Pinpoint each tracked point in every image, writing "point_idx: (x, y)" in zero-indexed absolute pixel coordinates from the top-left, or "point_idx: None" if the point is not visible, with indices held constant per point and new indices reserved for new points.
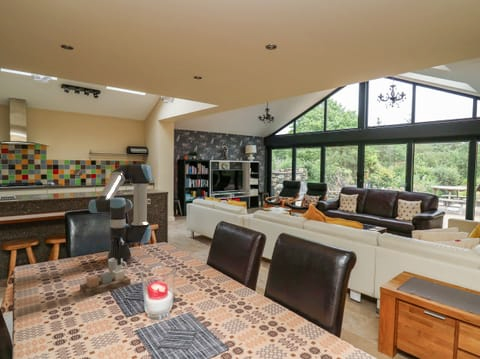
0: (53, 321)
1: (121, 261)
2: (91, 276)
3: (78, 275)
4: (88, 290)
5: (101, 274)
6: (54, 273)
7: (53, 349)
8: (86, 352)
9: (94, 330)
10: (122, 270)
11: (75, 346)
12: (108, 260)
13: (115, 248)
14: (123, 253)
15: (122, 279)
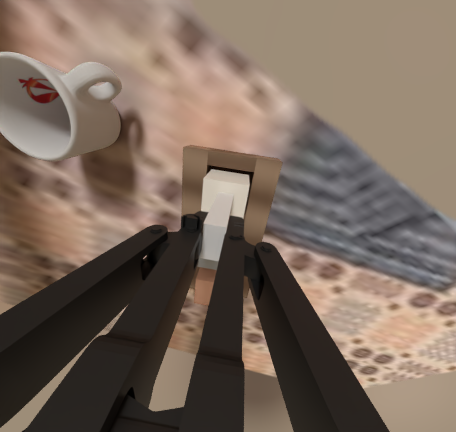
0: None
1: (71, 89)
2: (198, 291)
3: (57, 223)
4: (244, 295)
5: (207, 265)
6: (4, 252)
7: (376, 379)
8: (441, 370)
9: (402, 341)
10: (236, 186)
11: (406, 369)
12: (33, 156)
13: (169, 337)
14: (295, 281)
15: (256, 188)
